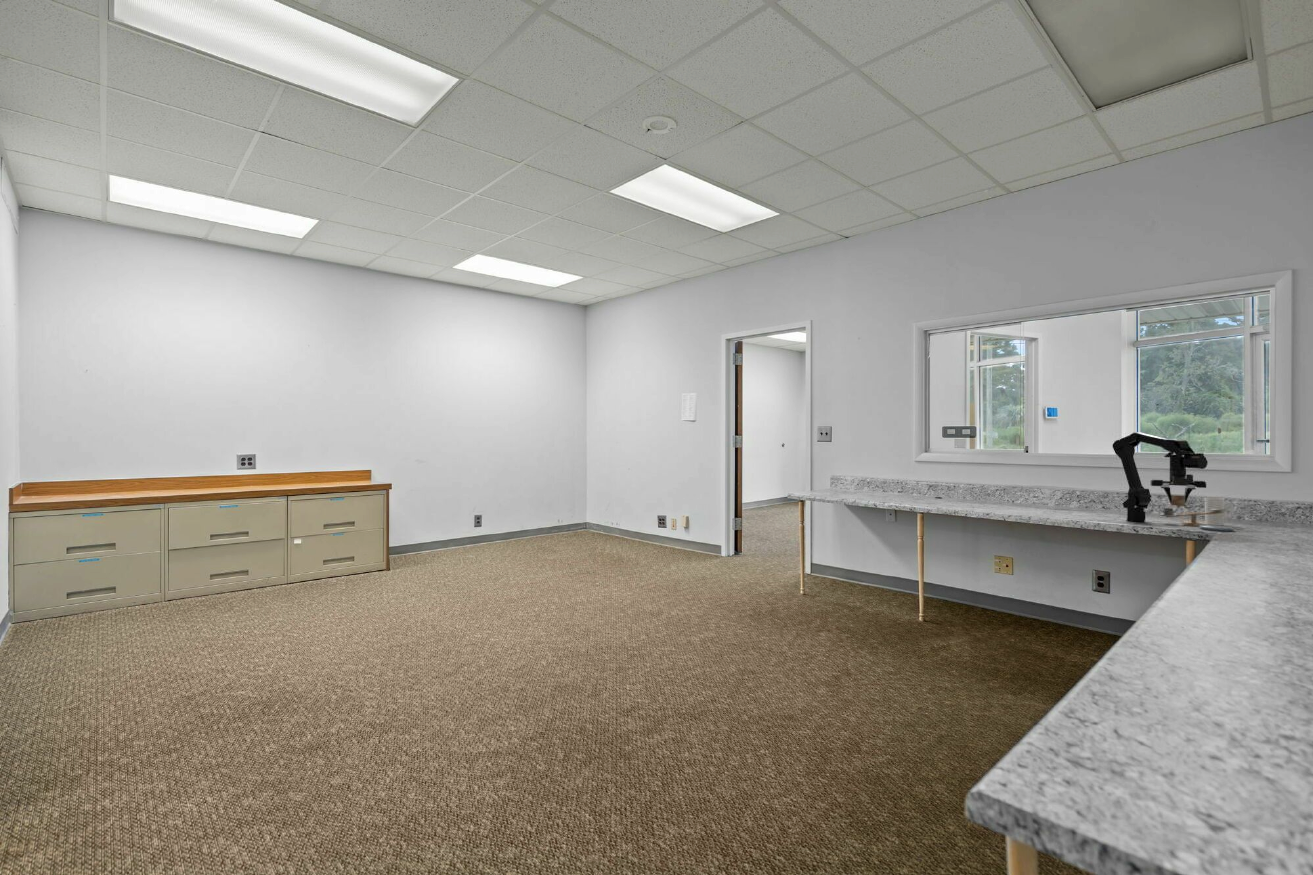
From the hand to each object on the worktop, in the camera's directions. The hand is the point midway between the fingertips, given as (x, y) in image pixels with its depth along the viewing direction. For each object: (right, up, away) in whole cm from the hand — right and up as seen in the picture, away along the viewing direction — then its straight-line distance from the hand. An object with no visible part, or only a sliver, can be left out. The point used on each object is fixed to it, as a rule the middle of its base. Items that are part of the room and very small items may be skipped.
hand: (1177, 502), depth 281 cm
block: (0, -1, 0) cm, 1 cm away
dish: (+10, -11, -8) cm, 17 cm away
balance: (+12, -11, +6) cm, 17 cm away
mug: (+25, -11, +7) cm, 28 cm away
